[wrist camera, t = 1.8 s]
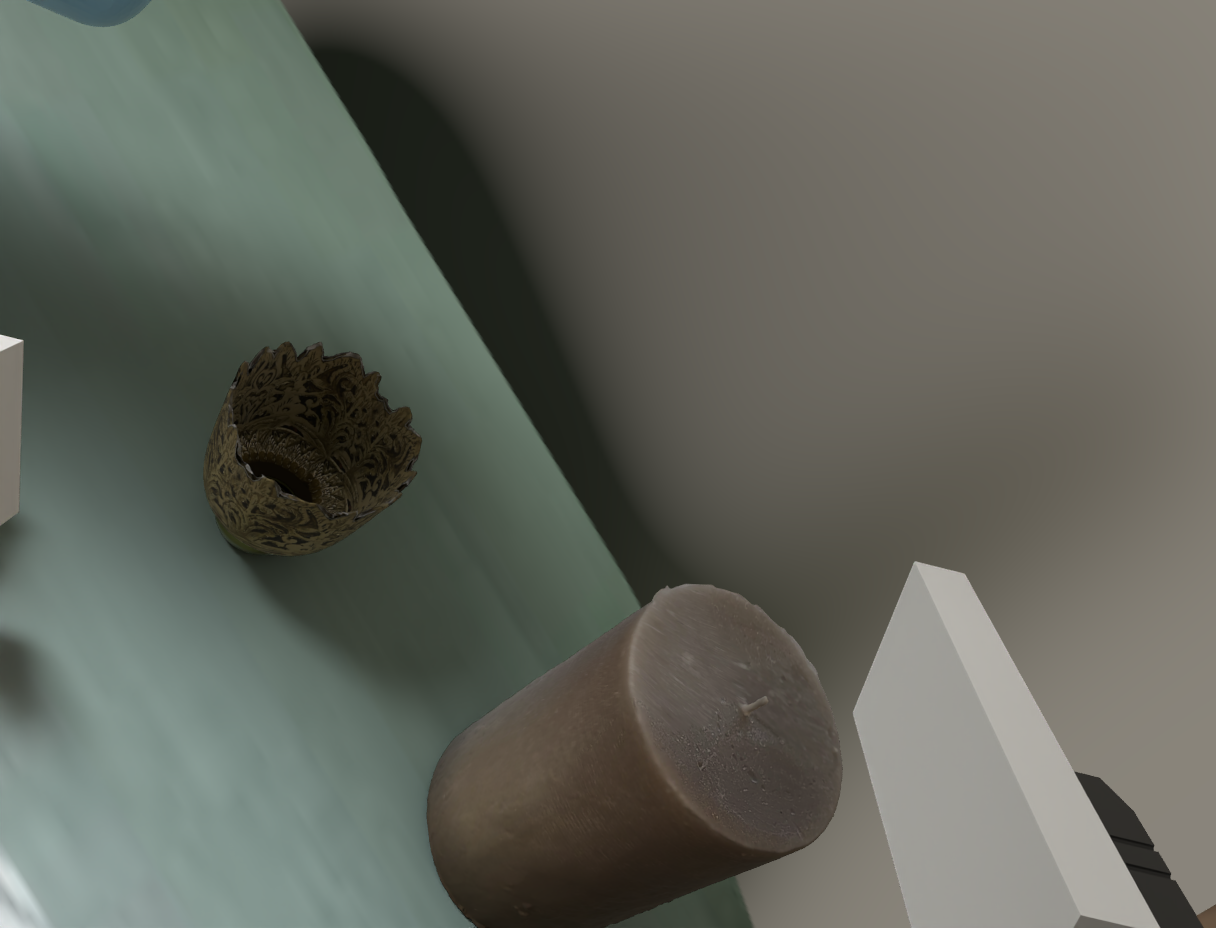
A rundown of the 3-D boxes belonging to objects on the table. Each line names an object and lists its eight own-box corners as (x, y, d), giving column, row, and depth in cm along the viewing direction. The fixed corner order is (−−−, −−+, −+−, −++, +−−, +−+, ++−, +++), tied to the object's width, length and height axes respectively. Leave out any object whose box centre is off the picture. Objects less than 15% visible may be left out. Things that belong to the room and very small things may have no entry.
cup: (369, 558, 46) (458, 468, 41) (231, 635, 40) (314, 542, 35) (271, 424, 47) (348, 319, 41) (123, 482, 41) (189, 368, 36)
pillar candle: (533, 1005, 40) (813, 916, 31) (375, 806, 40) (604, 657, 31) (652, 838, 48) (905, 725, 38) (517, 671, 48) (737, 518, 38)
